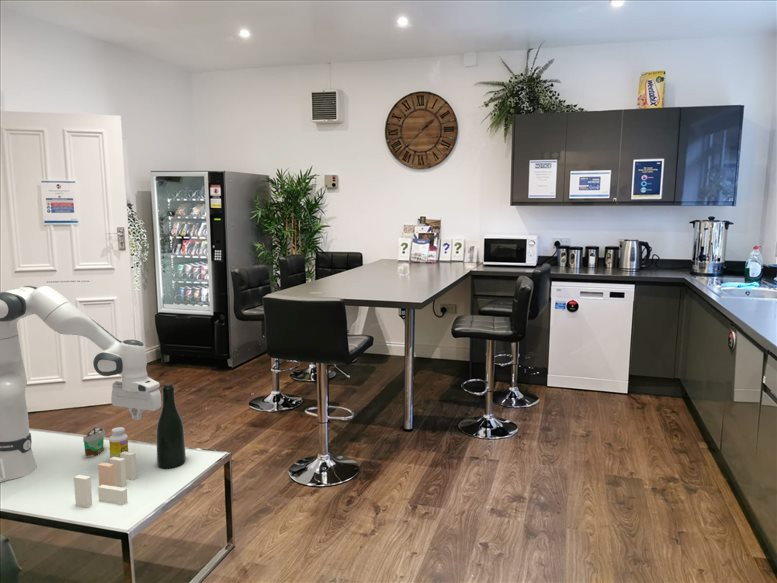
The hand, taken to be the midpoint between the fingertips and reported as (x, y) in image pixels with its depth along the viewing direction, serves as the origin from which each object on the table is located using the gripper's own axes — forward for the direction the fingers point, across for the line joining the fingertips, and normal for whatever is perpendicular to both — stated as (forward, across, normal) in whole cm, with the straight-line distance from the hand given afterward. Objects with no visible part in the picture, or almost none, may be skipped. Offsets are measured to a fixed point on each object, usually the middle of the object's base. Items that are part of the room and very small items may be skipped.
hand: (136, 419), depth 218 cm
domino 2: (+21, 0, -11) cm, 24 cm away
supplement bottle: (+21, -16, +7) cm, 27 cm away
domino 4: (+19, +2, -21) cm, 28 cm away
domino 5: (+21, 0, -6) cm, 22 cm away
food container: (+21, -28, +8) cm, 36 cm away
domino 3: (+21, 0, -16) cm, 26 cm away
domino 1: (+21, 0, -26) cm, 34 cm away
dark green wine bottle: (+21, +7, +9) cm, 24 cm away
